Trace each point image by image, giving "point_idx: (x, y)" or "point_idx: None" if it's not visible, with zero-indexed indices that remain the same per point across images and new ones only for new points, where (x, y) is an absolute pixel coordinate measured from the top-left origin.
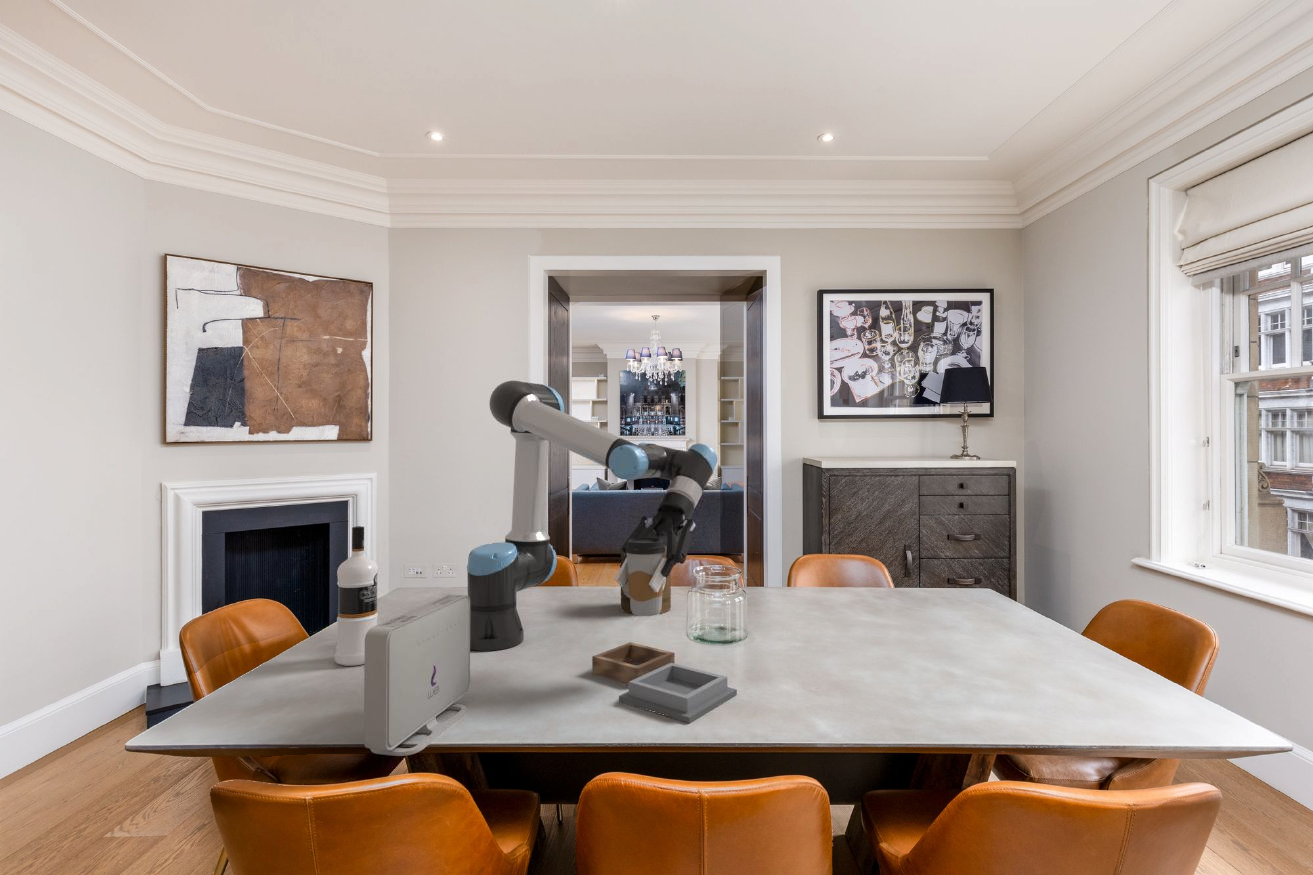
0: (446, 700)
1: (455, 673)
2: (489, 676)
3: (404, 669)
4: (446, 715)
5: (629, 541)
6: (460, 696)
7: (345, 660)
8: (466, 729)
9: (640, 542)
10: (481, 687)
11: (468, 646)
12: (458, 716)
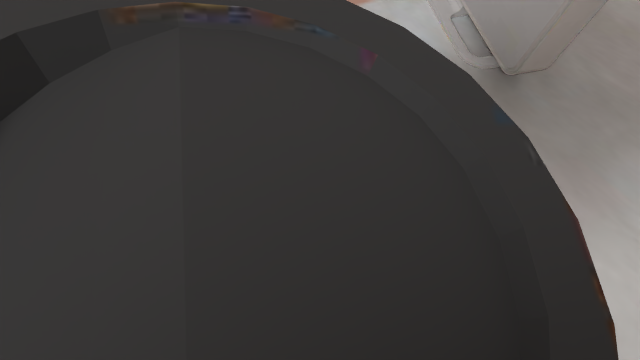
0: (478, 10)
1: (510, 2)
2: (581, 194)
3: None
4: (476, 42)
5: (418, 46)
6: (495, 55)
7: None
8: (410, 20)
9: (237, 131)
10: (538, 143)
11: (559, 7)
12: (450, 34)
